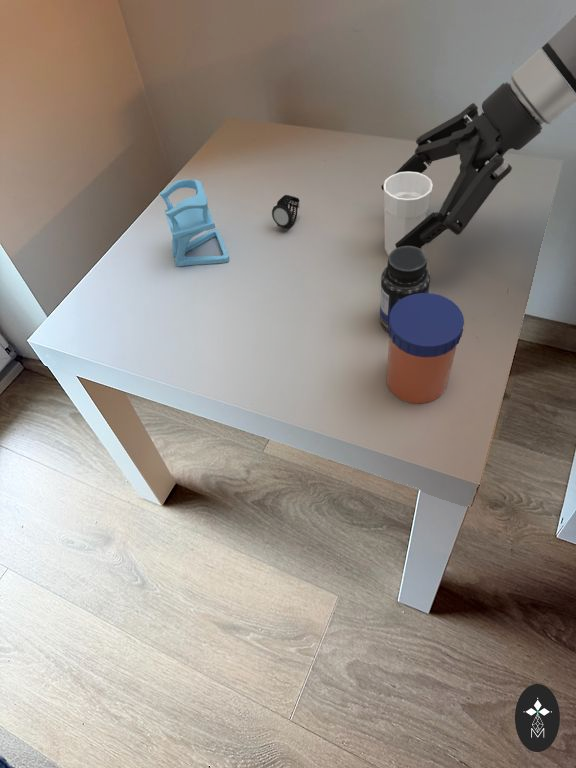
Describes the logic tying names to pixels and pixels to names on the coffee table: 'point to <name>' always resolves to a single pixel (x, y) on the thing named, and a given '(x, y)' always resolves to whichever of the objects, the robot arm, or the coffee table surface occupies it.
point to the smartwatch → (285, 211)
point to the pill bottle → (402, 278)
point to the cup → (404, 205)
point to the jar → (417, 374)
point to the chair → (191, 224)
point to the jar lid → (425, 325)
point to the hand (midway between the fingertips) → (394, 220)
